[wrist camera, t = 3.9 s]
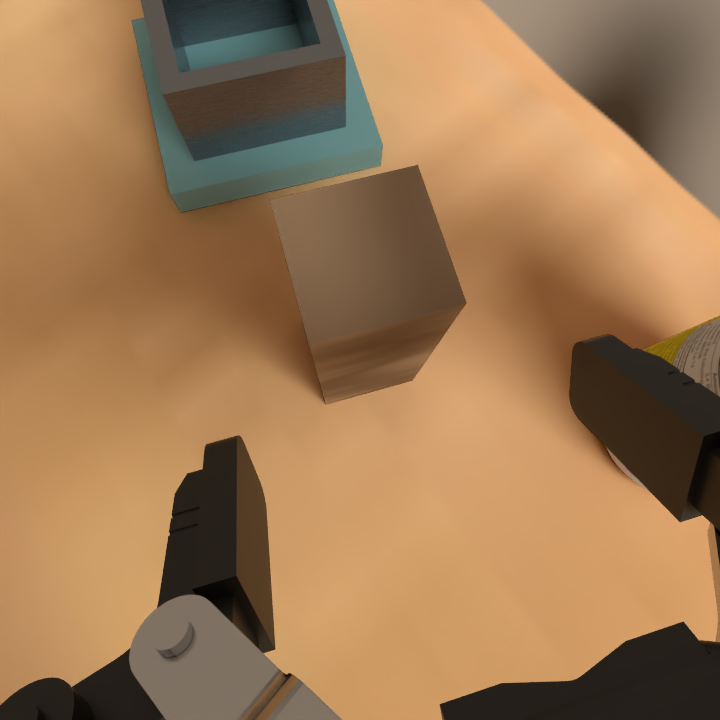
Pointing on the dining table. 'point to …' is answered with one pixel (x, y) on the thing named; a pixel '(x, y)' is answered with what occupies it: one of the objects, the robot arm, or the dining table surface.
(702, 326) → the supplement bottle
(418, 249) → the rail post
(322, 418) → the dining table surface
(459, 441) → the dining table surface
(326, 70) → the square socket frame
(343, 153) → the plate
